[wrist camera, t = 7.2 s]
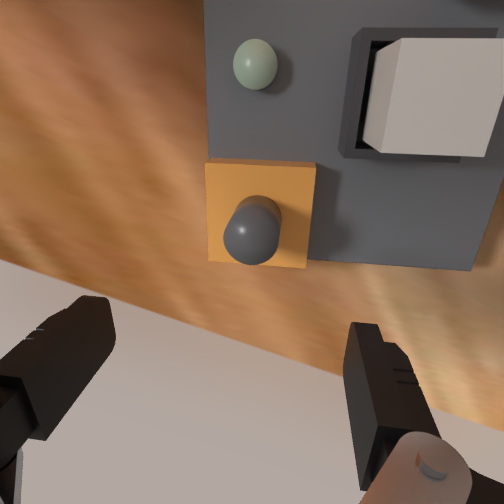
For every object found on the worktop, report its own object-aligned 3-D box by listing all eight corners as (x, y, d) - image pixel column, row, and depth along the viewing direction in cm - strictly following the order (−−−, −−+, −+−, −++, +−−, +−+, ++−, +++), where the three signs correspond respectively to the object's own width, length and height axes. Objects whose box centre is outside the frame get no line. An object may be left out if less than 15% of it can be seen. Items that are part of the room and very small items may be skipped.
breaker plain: (361, 139, 18) (380, 152, 14) (375, 52, 16) (402, 37, 12) (440, 142, 17) (484, 156, 13) (463, 53, 15) (521, 38, 11)
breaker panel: (220, 236, 27) (201, 271, 22) (212, -147, 17) (173, -255, 12) (452, 252, 25) (494, 295, 20) (585, -168, 16) (737, -306, 10)
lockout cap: (214, 249, 24) (194, 287, 19) (211, 157, 21) (187, 175, 17) (305, 256, 23) (306, 297, 19) (314, 162, 21) (319, 182, 16)
